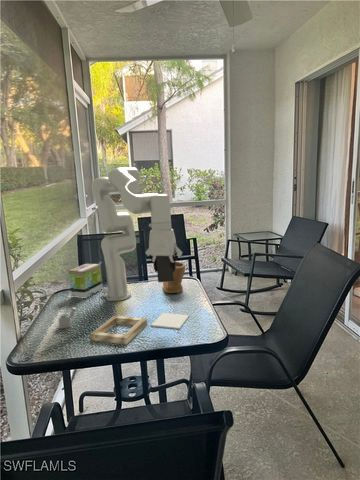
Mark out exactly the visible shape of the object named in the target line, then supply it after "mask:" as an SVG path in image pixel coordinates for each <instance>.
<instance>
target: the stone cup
mask: <svg viewBox="0 0 360 480" xmlns="http://www.w3.org/2000/svg"><path fill="white" fill-rule="evenodd" d="M175 266H176V269H175V271H174V272H173V279H174V281H169V282H162V288H163V291H164V292H165V293H167V294H175V293H176V294H177V293H181V292H182V291H183V289H184V288H183V285H182V281H183V278H184V275H185V273H186V266H185V264H184V263H183V262H180V261H177V260H176V261H175Z"/></svg>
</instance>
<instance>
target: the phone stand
mask: <svg viewBox="0 0 360 480" xmlns="http://www.w3.org/2000/svg"><path fill="white" fill-rule="evenodd" d="M156 261H157V272H156V276H157V282H158V283H163V282H169V281H174V279H173V267H172V269H171V267H170V263H171V260H170V258H169V256H156Z"/></svg>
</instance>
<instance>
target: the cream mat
mask: <svg viewBox="0 0 360 480" xmlns="http://www.w3.org/2000/svg"><path fill="white" fill-rule="evenodd" d="M189 318H190V315H189V314H179V313H178V314H177V313H167V312H162V313H161V314H160V315H159V316H158V318H156V320H155V321H153V322H152V323H151V325H150V327H155V328H163V329H165V328H166V329H172V328H173V329H174V330H180V329H181V328H182V327H183V326H184V324H185V323H186V322H187V320H188V319H189Z"/></svg>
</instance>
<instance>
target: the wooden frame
mask: <svg viewBox="0 0 360 480" xmlns="http://www.w3.org/2000/svg"><path fill="white" fill-rule="evenodd" d="M118 324H119V325H127V326H128V325H129V326H132V327H131V328H129V330H128V331H127V332H126V333H125V334H120V333H119V334H118V333H110V332H108V331H110V330H111V329H112V328H113V327H114V326H115V325H118ZM147 325H148V319H147V318H145V317H134V316H122V315H112V317H110V318H109V319H108V320H107V321H105V322H104V323H103V324H101V325H100V326H99V327H98V328H96V329H95V330H93V331H92V332H91V333H90V334H89V335H90V340H91V341H95V342H103V343H111V344H118V345H128V344H129V343H130V342H131V341H132V340H133V339H134V338H135V337H136V336H137V335H138V334H139V333H140V332H141V331H142V330H143V329H144V328H145V327H146V326H147ZM107 332H108V333H107Z"/></svg>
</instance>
